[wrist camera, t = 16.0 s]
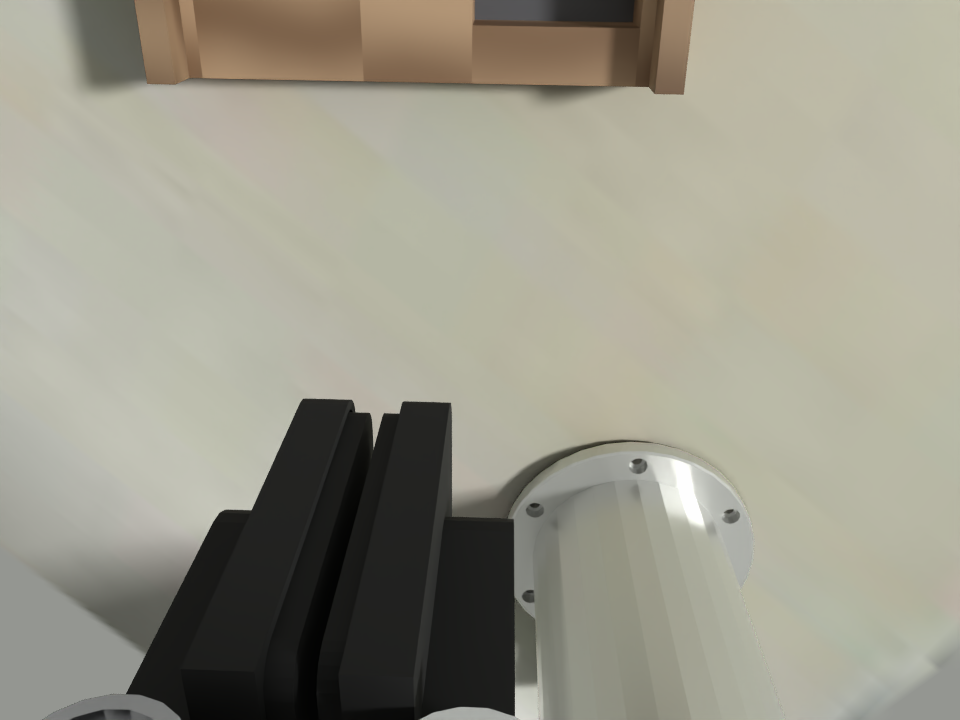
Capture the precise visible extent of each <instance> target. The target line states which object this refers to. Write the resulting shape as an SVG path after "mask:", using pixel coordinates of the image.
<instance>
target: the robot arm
mask: <svg viewBox="0 0 960 720" xmlns="http://www.w3.org/2000/svg"><path fill="white" fill-rule="evenodd" d="M754 543H755V541H754V535H753V529H752V523H751V520H750V518H749V515H748V512H747V510H746V507H745V505H744V503H743V501H742V499H741V497H740V496H739V494H738V492H737V491H736V489H735V487H734V486H733V485H732V484H731V483H730V482H729V481H728V480H727V479H726V477H725V476H724V475H723V474H722V473H721V472H720V471H719V470H717V469H716V468H714V467H713V466H711V465H710V464H708V463H707V462H705V461H704V460H703V459H701V458H699V457H697V456H694V455H692V454H690V453H687V452H685V451H683V450H680V449H677V448H673V447H669V446H664V445H660V444H656V443H642V442H623V443H612V444H604V445H600V446H596V447H592V448H589V449H585V450H581V451H579V452H577V453H574V454H572V455H570V456H567V457H565V458H563V459H561V460H559V461H557V462H556V463H554V464H553V465H551V466H550V467H548V468H547V469H545V470H544V471H542V472H541V473H539V474H538V475H537V476H536V477H535V478H534V479H533V480H532V481H531V482H530V483H529V484H528V485H527V486H526V487H525V488H524V489H523V491H522V492H521V494H520V495H519V497H518V498H517V500H516V501H515V503H514V504H513V506H512V508H511V510H510V513H509V515H508V518H507V519H501V518H470V517H452V411H451V403H440V402H405V401H404V402H403V403H402V406H401V410H400V414H388V413H385V414H383V417H382V421H381V424H380V428H379V432H378V436H377V439H376V443H375V447H374V450H373V430H372V419H371V415H370V413H355V407H354V403H353V401H352V400H336V399H303V400H302V401H301V403H300V405H299V407H298V409H297V411H296V413H295V416H294V418H293V420H292V422H291V424H290V427H289V429H288V431H287V433H286V436H285V438H284V440H283V442H282V444H281V447H280V449H279V451H278V453H277V455H276V458H275V460H274V462H273V464H272V467H271V469H270V471H269V473H268V475H267V478H266V480H265V482H264V484H263V486H262V489H261V491H260V493H259V495H258V497H257V500H256V502H255V504H254V506H253V509H252V510H224V511H222V512H220V513H219V514H218V516H217V517H216V519H215V520H214V522H213V524H212V526H211V528H210V530H209V532H208V534H207V536H206V538H205V540H204V542H203V543H202V545H201V547H200V549H199V551H198V553H197V555H196V557H195V559H194V561H193V563H192V565H191V567H190V569H189V571H188V573H187V575H186V577H185V579H184V581H183V583H182V585H181V587H180V589H179V591H178V593H177V595H176V597H175V599H174V601H173V603H172V604H171V606H170V608H169V610H168V612H167V614H166V616H165V618H164V620H163V622H162V624H161V626H160V628H159V630H158V632H157V634H156V636H155V638H154V640H153V642H152V644H151V646H150V648H149V650H148V652H147V654H146V656H145V658H144V660H143V662H142V664H141V666H140V668H139V670H138V671H137V673H136V675H135V677H134V679H133V681H132V684H131V685H130V687H129V689H128V691H127V693H126V694H110V695H106V696H101V697H95V698H90V699H86V700H82V701H79V702H77V703H75V704H72V705H70V706H67V707H65V708H63V709H61V710H58V711H56V712H53V713H52V714H50V715H49V716H47V717H46V718H44V719H43V720H519V719H518V718H516V717H515V636H514V597H515V598H516V599H517V601H518V602H519V603H520V605H521V606H522V607H523V609H524V610H525V611H526V612H527V613H528V614H529V615H530V616H532V617H533V618H534V619H535V627H536V655H537V683H538V711H539V720H786V719H785V716H784V713H783V710H782V707H781V704H780V702H779V699H778V696H777V693H776V690H775V687H774V684H773V682H772V679H771V676H770V673H769V670H768V667H767V664H766V661H765V659H764V656H763V653H762V650H761V647H760V644H759V641H758V638H757V636H756V633H755V630H754V627H753V624H752V621H751V618H750V615H749V613H748V610H747V607H746V604H745V601H744V598H743V595H742V592H741V588H742V587H743V585H744V583H745V582H746V580H747V578H748V575H749V572H750V568H751V565H752V562H753V556H754Z"/></svg>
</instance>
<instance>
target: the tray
mask: <svg viewBox="0 0 960 720" xmlns="http://www.w3.org/2000/svg"><path fill="white" fill-rule="evenodd" d="M134 2H135V9H136V15H137V21H138V28H139V34H140V40H141V47H142V53H143V59H144V66H145V72H146V79H147V84H177V83H179V82H182V81H184V80H186V79H188V78H221V79H272V80H323V81H374V82H425V83H476V84H527V85H578V86H629V87H649V88H650V89H651V90H652V91H653V92H654V93H655V94H683V95H684V87H685V78H686V70H687V61H688V53H689V44H690V36H691V27H692V19H693V10H694V2H695V0H134Z"/></svg>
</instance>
